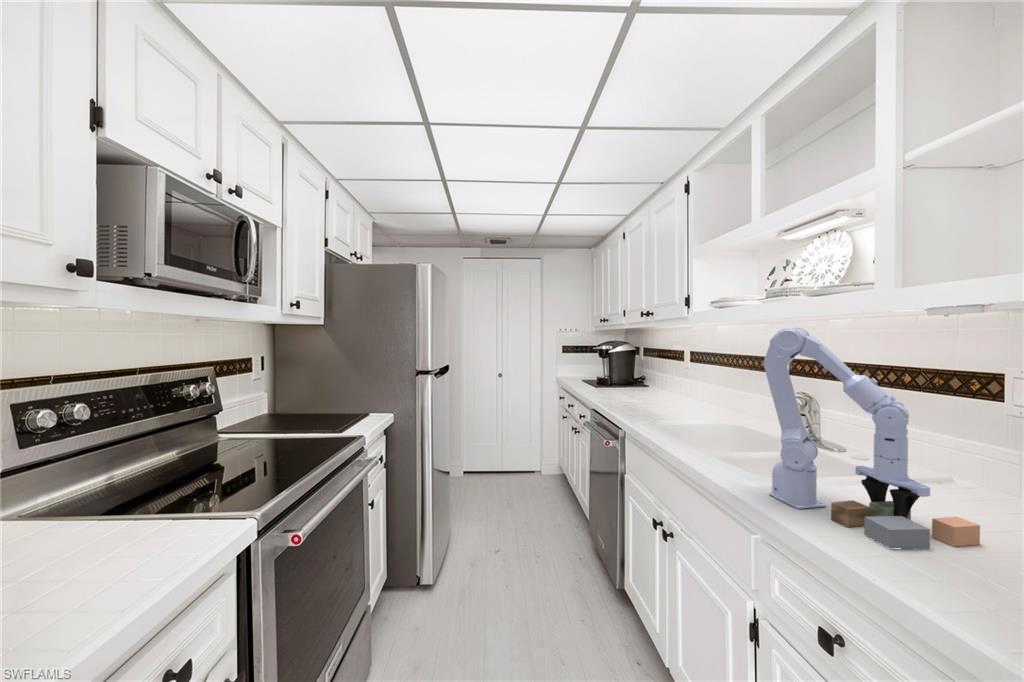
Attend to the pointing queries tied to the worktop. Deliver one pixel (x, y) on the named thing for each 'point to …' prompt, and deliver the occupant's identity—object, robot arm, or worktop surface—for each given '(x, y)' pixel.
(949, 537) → the terracotta brick
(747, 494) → the worktop surface
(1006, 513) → the worktop surface
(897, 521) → the slate brick
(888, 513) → the sage brick
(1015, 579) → the worktop surface
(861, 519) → the walnut brick
